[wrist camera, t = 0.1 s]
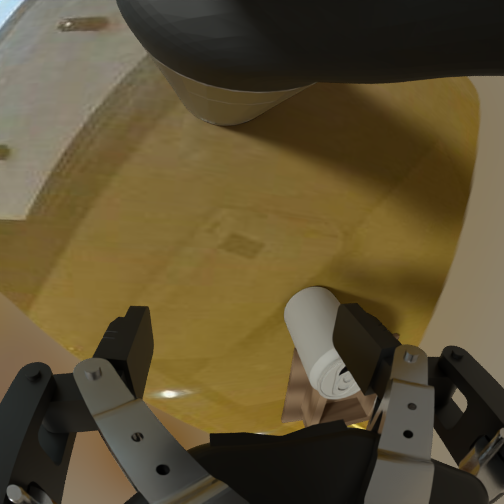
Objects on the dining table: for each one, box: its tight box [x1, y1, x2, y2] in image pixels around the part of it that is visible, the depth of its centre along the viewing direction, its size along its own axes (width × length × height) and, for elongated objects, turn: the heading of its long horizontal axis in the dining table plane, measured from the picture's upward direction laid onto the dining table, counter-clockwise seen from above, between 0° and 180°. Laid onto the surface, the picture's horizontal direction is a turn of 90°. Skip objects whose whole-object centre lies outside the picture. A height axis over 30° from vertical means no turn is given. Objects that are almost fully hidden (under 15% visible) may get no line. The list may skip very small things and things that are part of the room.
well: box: [281, 333, 399, 428], centre depth 36 cm, size 16×16×5 cm
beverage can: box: [284, 287, 360, 399], centre depth 27 cm, size 6×6×12 cm
